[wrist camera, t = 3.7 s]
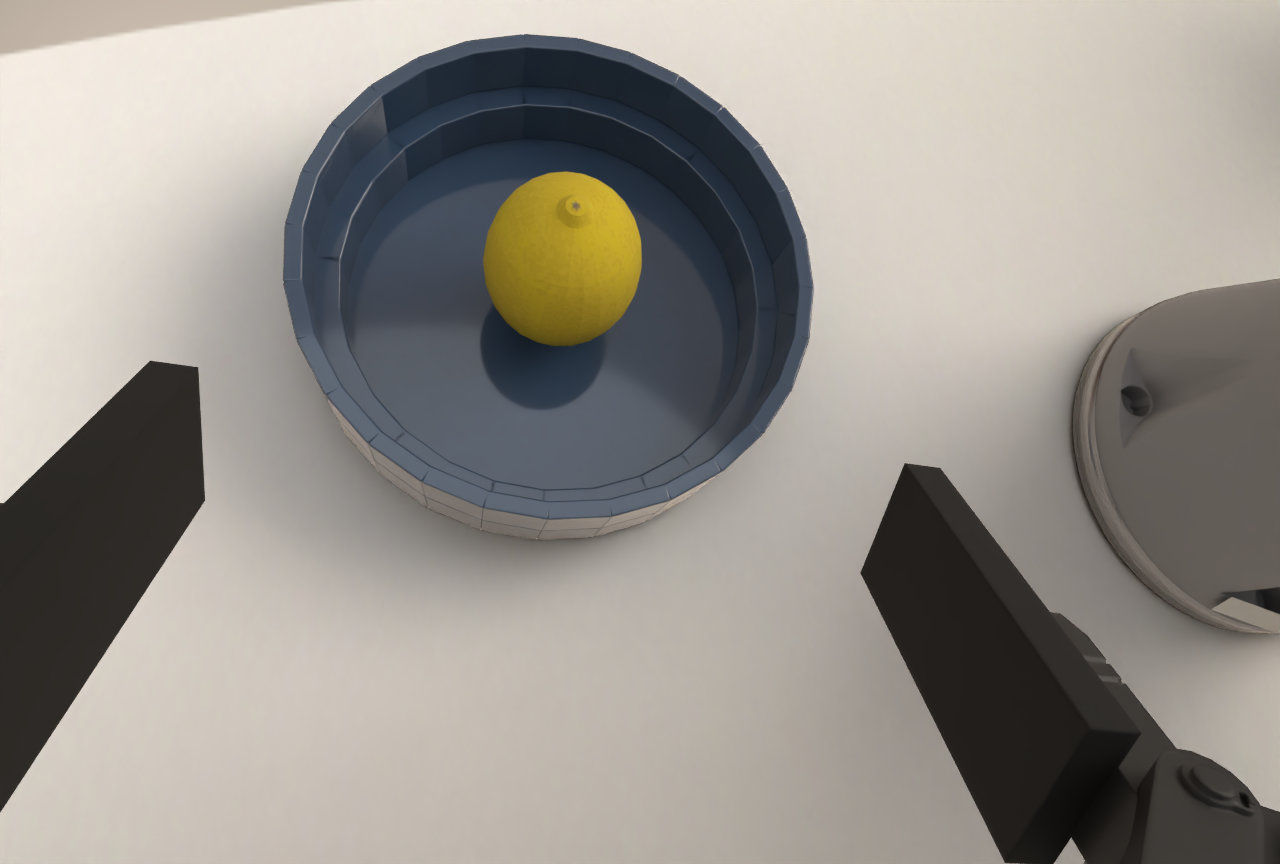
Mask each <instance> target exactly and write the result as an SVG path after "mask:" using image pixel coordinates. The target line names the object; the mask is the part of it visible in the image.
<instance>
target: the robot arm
mask: <svg viewBox="0 0 1280 864" xmlns="http://www.w3.org/2000/svg"><path fill="white" fill-rule="evenodd" d="M1073 442H1074V450H1075V457H1076V462H1077V467H1078V471H1079V476H1080V479H1081V482H1082V485H1083V489H1084V492H1085V494H1086V497H1087V499H1088V502H1089V504H1090V507H1091V509H1092V511H1093V513H1094V515H1095V517H1096V519H1097V521H1098V523H1099V525H1100V527H1101V529H1102V530H1103V532H1104V534H1105V535H1106V537H1107V539H1108V540H1109V542H1110V543H1111V545H1112V546H1113V548H1114V549H1115V550H1116V552H1117V553H1118V555H1119V556H1120V557H1121V558H1122V560H1123V561H1124V562H1125V563H1126V564H1127V566H1128V567H1129V568H1130V569H1131V570H1132V571H1133V572H1134V573H1135V574H1136V575H1137V576H1138V577H1139V579H1140V580H1141V581H1142V582H1143V583H1144V584H1146V585H1147V586H1148V587H1149V588H1150V589H1151V590H1153V591H1154V592H1155V593H1156V594H1157V595H1158V596H1160V597H1161V598H1163V599H1164V600H1165V601H1167V602H1168V603H1169V604H1171V605H1172V606H1174V607H1176V608H1177V609H1179V610H1181V611H1182V612H1184V613H1186V614H1187V615H1189V616H1191V617H1193V618H1196V619H1198V620H1200V621H1202V622H1204V623H1207V624H1210V625H1213V626H1215V627H1219V628H1222V629H1226V630H1230V631H1236V632H1243V633H1261V634H1263V633H1277V634H1280V279H1274V280H1267V281H1261V282H1254V283H1247V284H1240V285H1233V286H1226V287H1219V288H1213V289H1206V290H1200V291H1195V292H1190V293H1187V294H1184V295H1181V296H1178V297H1174V298H1171V299H1168V300H1165V301H1163V302H1160V303H1158V304H1156V305H1154V306H1152V307H1150V308H1148V309H1146V310H1144V311H1142V312H1140V313H1138V314H1136V315H1135V316H1133V317H1131V318H1129V319H1127V320H1125V321H1124V322H1122V323H1121V324H1120V325H1118V326H1117V327H1115V328H1114V329H1113V330H1112V331H1111V332H1110V333H1109V334H1107V335H1106V337H1105V338H1104V339H1103V340H1102V341H1101V342H1100V343H1099V345H1098V346H1097V347H1096V349H1095V350H1094V352H1093V353H1092V355H1091V356H1090V358H1089V360H1088V362H1087V364H1086V366H1085V368H1084V370H1083V373H1082V376H1081V378H1080V381H1079V385H1078V389H1077V393H1076V397H1075V404H1074V412H1073ZM204 501H205V491H204V471H203V452H202V432H201V412H200V393H199V373H198V367H192V366H185V365H177V364H170V363H163V362H155V361H149V362H148V363H147V364H146V365H145V366H144V367H143V368H142V369H141V370H140V371H139V372H138V373H137V374H136V375H135V376H134V377H133V378H132V379H131V380H130V381H129V382H128V383H127V384H126V385H125V386H124V387H123V388H122V389H121V390H120V391H119V392H118V393H117V394H116V395H115V396H114V397H113V398H112V399H110V400H109V401H108V402H107V403H106V404H105V405H104V406H103V407H102V408H101V409H100V410H99V411H98V412H97V413H96V414H95V415H94V416H93V417H92V418H91V419H90V420H89V421H88V422H87V423H86V424H85V425H84V426H83V427H82V428H81V429H80V430H79V431H78V432H77V433H76V434H75V435H74V436H73V437H72V438H71V439H69V440H68V441H67V442H66V443H65V444H64V445H63V446H62V447H61V448H60V449H59V450H58V451H57V452H56V453H55V454H54V455H53V456H52V457H51V458H50V459H49V460H48V461H47V462H46V463H45V464H44V465H43V466H42V467H41V468H40V469H39V470H38V471H37V472H36V473H35V474H34V475H33V476H32V477H31V478H30V479H28V480H27V481H26V482H25V483H24V484H23V485H22V486H21V487H20V488H19V489H18V490H17V491H16V492H15V493H14V494H13V495H12V496H11V497H10V498H9V499H8V500H7V501H6V502H5V503H0V812H1V811H2V809H3V807H4V806H5V804H6V803H7V801H8V800H9V798H10V797H11V795H12V794H13V792H14V791H15V789H16V788H17V786H18V785H19V783H20V782H21V780H22V779H23V777H24V775H25V774H26V772H27V771H28V769H29V768H30V766H31V765H32V763H33V762H34V760H35V759H36V757H37V756H38V754H39V753H40V751H41V750H42V748H43V746H44V745H45V743H46V742H47V740H48V739H49V737H50V736H51V734H52V733H53V731H54V730H55V728H56V727H57V725H58V724H59V722H60V721H61V719H62V718H63V716H64V714H65V713H66V711H67V710H68V708H69V707H70V705H71V704H72V702H73V701H74V699H75V698H76V696H77V695H78V693H79V692H80V690H81V689H82V687H83V686H84V684H85V682H86V681H87V679H88V678H89V676H90V675H91V673H92V672H93V670H94V669H95V667H96V666H97V664H98V663H99V661H100V660H101V658H102V657H103V655H104V654H105V652H106V650H107V649H108V647H109V646H110V644H111V643H112V641H113V640H114V638H115V637H116V635H117V634H118V632H119V631H120V629H121V628H122V626H123V625H124V623H125V621H126V620H127V618H128V617H129V615H130V614H131V612H132V611H133V609H134V608H135V606H136V605H137V603H138V602H139V600H140V599H141V597H142V596H143V594H144V593H145V591H146V589H147V588H148V586H149V585H150V583H151V582H152V580H153V579H154V577H155V576H156V574H157V573H158V571H159V570H160V568H161V567H162V565H163V564H164V562H165V561H166V559H167V557H168V556H169V554H170V553H171V551H172V550H173V548H174V547H175V545H176V544H177V542H178V541H179V539H180V538H181V536H182V535H183V533H184V532H185V530H186V529H187V527H188V525H189V524H190V522H191V521H192V519H193V518H194V516H195V515H196V513H197V512H198V510H199V509H200V507H201V506H202V504H203V503H204ZM861 575H862V577H863V579H864V581H865V583H866V585H867V587H868V589H869V591H870V593H871V595H872V597H873V599H874V601H875V603H876V605H877V607H878V609H879V611H880V613H881V615H882V617H883V619H884V621H885V623H886V625H887V627H888V629H889V631H890V633H891V635H892V637H893V639H894V641H895V643H896V645H897V647H898V649H899V651H900V653H901V655H902V657H903V659H904V661H905V663H906V665H907V667H908V669H909V671H910V673H911V675H912V677H913V679H914V681H915V683H916V685H917V687H918V689H919V691H920V693H921V695H922V697H923V699H924V701H925V703H926V705H927V707H928V709H929V711H930V713H931V715H932V717H933V719H934V721H935V723H936V725H937V727H938V729H939V731H940V733H941V735H942V737H943V739H944V741H945V743H946V745H947V747H948V749H949V751H950V753H951V755H952V757H953V759H954V761H955V763H956V765H957V767H958V769H959V771H960V773H961V775H962V777H963V779H964V781H965V783H966V785H967V787H968V789H969V791H970V793H971V795H972V797H973V799H974V801H975V803H976V805H977V807H978V809H979V811H980V813H981V815H982V817H983V819H984V821H985V824H986V826H987V828H988V830H989V832H990V834H991V836H992V838H993V840H994V842H995V844H996V846H997V848H998V850H999V852H1000V854H1001V856H1002V858H1003V860H1004V862H1005V863H1020V864H1054V862H1055V861H1056V859H1057V858H1058V856H1059V855H1060V853H1061V852H1062V850H1063V849H1064V847H1065V846H1066V844H1067V843H1068V841H1069V840H1070V838H1071V837H1072V839H1073V841H1074V842H1075V844H1076V846H1077V847H1078V849H1079V851H1080V852H1081V854H1082V856H1083V858H1084V859H1085V862H1084V864H1280V812H1278V811H1275V810H1272V809H1269V808H1266V807H1263V806H1260V804H1259V802H1258V801H1257V800H1256V798H1255V797H1254V796H1253V794H1252V793H1251V792H1250V790H1249V789H1248V787H1246V786H1245V785H1244V784H1243V783H1242V782H1241V781H1240V780H1239V779H1238V778H1237V777H1235V776H1234V775H1233V774H1232V773H1231V772H1230V771H1228V770H1226V769H1225V768H1223V767H1222V766H1220V765H1219V764H1217V763H1216V762H1214V761H1212V760H1211V759H1209V758H1206V757H1204V756H1201V755H1199V754H1197V753H1194V752H1192V751H1187V750H1181V749H1177V748H1176V747H1175V746H1174V745H1173V743H1172V742H1171V741H1170V740H1169V738H1168V737H1167V736H1166V735H1165V733H1164V732H1163V731H1162V729H1161V728H1160V727H1159V726H1158V724H1157V723H1156V722H1155V721H1154V719H1153V718H1152V717H1151V716H1150V714H1149V713H1148V712H1147V711H1146V709H1145V708H1144V707H1143V705H1142V704H1141V703H1140V702H1139V700H1138V699H1137V698H1136V697H1135V695H1134V694H1133V693H1132V692H1131V690H1130V689H1129V688H1128V686H1127V685H1126V684H1123V683H1121V678H1120V676H1119V675H1118V674H1117V673H1116V671H1115V670H1114V669H1113V667H1112V666H1111V665H1110V664H1106V659H1105V657H1104V656H1103V655H1102V654H1101V652H1100V651H1099V650H1098V648H1097V647H1096V646H1095V645H1094V643H1093V642H1092V641H1091V640H1090V638H1089V637H1088V636H1087V635H1086V634H1085V633H1083V632H1082V631H1081V630H1080V629H1079V628H1077V627H1076V626H1075V625H1074V624H1072V623H1071V622H1070V621H1069V620H1067V619H1066V618H1065V617H1064V616H1062V615H1061V614H1059V613H1050V612H1049V610H1048V609H1047V608H1046V606H1045V605H1044V604H1043V603H1042V601H1041V600H1040V599H1039V597H1038V596H1037V595H1036V593H1035V592H1034V591H1033V589H1032V588H1031V587H1030V585H1029V584H1028V583H1027V582H1026V580H1025V579H1024V578H1023V576H1022V575H1021V574H1020V572H1019V571H1018V570H1017V568H1016V567H1015V566H1014V564H1013V563H1012V562H1011V560H1010V559H1009V558H1008V557H1007V555H1006V554H1005V553H1004V551H1003V550H1002V549H1001V547H1000V546H999V545H998V543H997V542H996V541H995V539H994V538H993V537H992V536H991V534H990V533H989V532H988V530H987V529H986V528H985V526H984V525H983V524H982V522H981V521H980V520H979V518H978V517H977V516H976V515H975V513H974V512H973V511H972V509H971V508H970V507H969V505H968V504H967V503H966V501H965V500H964V499H963V497H962V496H961V495H960V493H959V492H958V491H957V490H956V488H955V487H954V486H953V484H952V483H951V482H950V480H949V479H948V478H947V476H946V475H945V474H944V472H943V471H942V470H941V469H940V468H936V467H928V466H921V465H913V464H906V463H905V464H904V467H903V469H902V471H901V474H900V476H899V479H898V481H897V484H896V486H895V489H894V491H893V494H892V496H891V499H890V501H889V504H888V506H887V509H886V511H885V514H884V516H883V518H882V521H881V523H880V526H879V528H878V531H877V533H876V536H875V538H874V541H873V543H872V546H871V548H870V551H869V553H868V556H867V558H866V560H865V563H864V565H863V568H862V570H861Z"/></svg>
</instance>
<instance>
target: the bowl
mask: <svg viewBox="0 0 1280 864" xmlns="http://www.w3.org/2000/svg"><path fill="white" fill-rule="evenodd" d="M555 172H573V173H580V174H584V175H587V176H590V177H592V178H595V179H598V180H599V181H601V182H602V183H604V184H605V185H607V186H609V187H610V188H612V189H613V190H614V191H615V192H616V193H617V194H618V195H619V196H620V197H621V198H622V199H623V200H624V201H625V203H626V205H627V206H628V208H629V210H630V211H631V213H632V215H633V217H634V219H635V221H636V225H637V228H638V231H639V235H640V239H641V254H642V268H641V273H640V277H639V282H638V286H637V290H636V293H635V295H634V297H633V299H632V301H631V303H630V304H629V306H628V308H627V309H626V311H625V313H624V314H623V316H622V317H621V318H620V319H619V320H618V321H617V322H616V323H615V324H614V325H613V326H612V327H611V328H610V329H609V330H607V331H606V332H605V333H603V334H601V335H599V336H598V337H596V338H594V339H592V340H590V341H588V342H585V343H581V344H577V345H573V346H551V345H547V344H542V343H538V342H535V341H533V340H531V339H529V338H527V337H525V336H523V335H521V334H520V333H518V332H517V331H516V330H515V329H513V328H512V327H511V326H510V325H509V324H507V322H506V321H505V320H504V318H503V317H502V316H501V314H500V313H499V312H498V310H497V309H496V308H495V306H494V304H493V301H492V299H491V296H490V294H489V292H488V289H487V286H486V282H485V273H484V265H483V257H484V251H485V245H486V239H487V234H488V231H489V229H490V227H491V225H492V223H493V221H494V218H495V216H496V214H497V212H498V210H499V209H500V207H501V206H502V204H503V203H504V202H505V201H506V200H507V199H508V198H509V196H510V195H511V194H512V193H513V192H514V191H515V190H516V189H517V188H519V187H520V186H522V185H523V184H525V183H526V182H528V181H530V180H531V179H533V178H536V177H539V176H542V175H545V174H548V173H555ZM285 223H286V225H285V231H284V261H283V281H284V283H283V285H284V289H285V294H286V298H287V302H288V307H289V311H290V315H291V320H292V324H293V328H294V333H295V337H296V340H297V343H298V345H299V347H300V349H301V351H302V352H303V354H304V356H305V358H306V360H307V362H308V364H309V366H310V368H311V370H312V372H313V374H314V376H315V378H316V380H317V382H318V384H319V386H320V388H321V389H322V391H323V393H324V395H325V397H326V399H327V401H328V403H329V405H330V407H331V409H332V411H333V413H334V415H335V416H336V418H337V420H338V422H339V424H340V426H341V428H342V430H343V432H344V433H345V434H346V436H347V437H348V438H349V439H350V440H351V441H352V442H353V444H354V445H355V446H356V447H357V448H358V449H359V450H360V452H361V453H362V454H363V455H364V456H365V457H366V458H367V460H368V461H369V462H370V463H371V464H372V465H373V466H374V468H375V469H376V470H377V471H378V472H379V473H380V474H381V475H382V476H383V477H384V478H386V479H387V480H389V481H390V482H391V483H393V484H394V485H396V486H397V487H398V488H400V489H401V490H403V491H404V492H405V493H407V494H408V495H410V496H411V497H412V498H414V499H415V500H417V501H418V502H419V503H421V504H422V505H424V506H425V507H427V508H429V509H431V510H433V511H436V512H438V513H440V514H443V515H445V516H448V517H450V518H452V519H455V520H457V521H460V522H462V523H464V524H467V525H469V526H472V527H474V528H476V529H481V530H483V531H488V532H494V533H499V534H505V535H511V536H516V537H522V538H528V539H534V540H535V539H538V540H548V539H568V538H588V537H592V536H594V537H595V536H599V535H602V534H606V533H609V532H613V531H616V530H620V529H623V528H627V527H630V526H634V525H637V524H641V523H643V522H644V521H648V520H650V519H652V518H653V517H655V516H657V515H659V514H661V513H662V512H664V511H666V510H668V509H670V508H671V507H673V506H675V505H677V504H679V503H680V502H682V501H684V500H686V499H687V498H689V497H690V496H692V495H693V494H694V493H696V492H697V491H698V490H700V489H701V488H702V487H703V486H705V485H706V484H707V483H709V482H710V481H711V480H713V479H714V478H715V477H716V476H718V475H719V474H720V473H722V472H723V471H724V470H725V469H726V468H727V467H728V466H729V465H731V464H732V463H733V462H734V461H735V460H736V459H737V458H738V457H739V456H740V455H741V454H742V453H743V452H745V451H746V450H747V449H748V448H749V447H750V446H751V445H752V444H753V443H754V442H755V441H756V440H757V439H759V438H760V437H761V436H762V434H763V433H764V432H765V431H766V429H767V428H768V426H769V425H770V423H771V422H772V420H773V418H774V417H775V415H776V414H777V412H778V411H779V409H780V408H781V406H782V405H783V403H784V402H785V400H786V398H787V397H788V395H789V394H790V392H791V391H792V388H793V386H794V383H795V380H796V377H797V374H798V371H799V368H800V365H801V362H802V360H803V357H804V354H805V351H806V348H807V345H808V342H809V336H810V325H811V314H812V303H813V292H814V290H813V279H812V272H811V265H810V258H809V251H808V244H807V239H806V235H805V232H804V230H803V227H802V224H801V222H800V219H799V216H798V214H797V211H796V208H795V206H794V203H793V200H792V198H791V195H790V192H789V190H788V188H787V186H786V185H785V183H784V181H783V180H782V178H781V177H780V175H779V174H778V172H777V170H776V169H775V167H774V166H773V164H772V163H771V161H770V159H769V158H768V156H767V155H766V153H765V152H764V150H763V148H762V147H761V146H760V144H759V143H758V142H757V141H756V140H755V139H754V138H753V137H752V136H751V135H750V134H749V133H748V131H747V130H746V129H745V128H744V127H743V126H742V125H741V124H740V123H739V122H738V121H737V120H736V119H735V118H734V117H733V116H732V115H731V114H730V113H729V112H728V110H727V109H726V108H723V106H722V105H720V104H719V103H718V102H716V101H715V100H713V99H712V98H711V97H709V96H708V95H707V94H705V93H704V92H702V91H701V90H700V89H698V88H697V87H695V86H694V85H693V84H691V83H690V82H688V81H687V80H686V79H684V78H683V77H681V76H680V77H679V75H678V74H676V73H674V72H671V71H669V70H667V69H665V68H663V67H661V66H659V65H657V64H654V63H652V62H650V61H648V60H646V59H644V58H642V57H640V56H638V55H635V54H633V53H630V52H628V51H624V50H620V49H617V48H613V47H609V46H605V45H602V44H598V43H594V42H590V41H587V40H583V39H578V38H569V37H555V36H542V35H529V34H524V35H513V36H504V37H496V38H487V39H479V40H471V41H465V42H462V43H459V44H456V45H453V46H450V47H447V48H444V49H441V50H438V51H435V52H432V53H429V54H426V55H423V56H420V57H418V58H417V59H414V60H412V61H410V62H409V63H407V64H405V65H404V66H402V67H400V68H399V69H397V70H395V71H394V72H392V73H390V74H389V75H387V76H385V77H383V78H382V79H380V80H378V81H377V82H375V83H373V84H372V85H371V86H369V87H368V88H367V89H366V90H365V91H364V92H363V93H361V94H360V95H359V96H358V97H357V98H356V99H355V100H354V101H353V102H352V103H351V104H350V105H349V106H348V107H347V108H346V109H345V110H344V111H343V112H342V113H341V114H340V115H339V116H338V117H337V118H336V119H335V120H333V121H332V123H331V124H330V125H329V127H328V128H327V130H326V132H325V133H324V135H323V136H322V138H321V140H320V141H319V143H318V144H317V146H316V148H315V149H314V151H313V152H312V154H311V156H310V157H309V159H308V161H307V162H306V164H305V165H304V167H303V169H302V171H301V173H300V176H299V179H298V183H297V186H296V189H295V193H294V196H293V199H292V202H291V206H290V209H289V212H288V215H287V219H286V222H285Z"/></svg>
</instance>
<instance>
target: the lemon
mask: <svg viewBox="0 0 1280 864" xmlns="http://www.w3.org/2000/svg"><path fill="white" fill-rule="evenodd" d="M483 265H484V273H485V282H486V286H487V289H488V292H489V294H490V296H491V299H492V301H493V304H494V306H495V308H496V309H497V310H498V312H499V313H500V314H501V316H502V317H503V318H504V320H505V321H506V322H507V324H509V325H510V326H511V327H512V328H513V329H515V330H516V331H517V332H518V333H520V334H521V335H523V336H525V337H527V338H529V339H531V340H533V341H535V342H538V343H542V344H547V345H551V346H573V345H577V344H581V343H585V342H588V341H590V340H592V339H594V338H596V337H598V336H599V335H601V334H603V333H605V332H606V331H607V330H609V329H610V328H611V327H612V326H613V325H614V324H615V323H616V322H617V321H618V320H619V319H620V318H621V317H622V316H623V314H624V313H625V311H626V309H627V308H628V306H629V304H630V303H631V301H632V299H633V297H634V295H635V293H636V290H637V286H638V282H639V277H640V273H641V268H642V254H641V239H640V235H639V231H638V228H637V225H636V221H635V219H634V217H633V215H632V213H631V211H630V210H629V208H628V206H627V205H626V203H625V201H624V200H623V199H622V198H621V197H620V196H619V195H618V194H617V193H616V192H615V191H614V190H613V189H612V188H610V187H609V186H607V185H605V184H604V183H602V182H601V181H599V180H598V179H595V178H592V177H590V176H587V175H584V174H580V173H573V172H555V173H548V174H545V175H542V176H539V177H536V178H533V179H531V180H530V181H528V182H526V183H525V184H523V185H522V186H520V187H519V188H517V189H516V190H515V191H514V192H513V193H512V194H511V195H510V196H509V198H508V199H507V200H506V201H505V202H504V203H503V204H502V206H501V207H500V209H499V210H498V212H497V214H496V216H495V218H494V221H493V223H492V225H491V227H490V229H489V231H488V234H487V239H486V245H485V251H484V257H483Z"/></svg>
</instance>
